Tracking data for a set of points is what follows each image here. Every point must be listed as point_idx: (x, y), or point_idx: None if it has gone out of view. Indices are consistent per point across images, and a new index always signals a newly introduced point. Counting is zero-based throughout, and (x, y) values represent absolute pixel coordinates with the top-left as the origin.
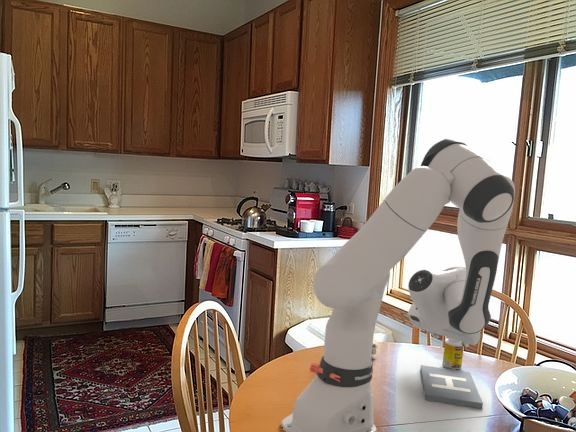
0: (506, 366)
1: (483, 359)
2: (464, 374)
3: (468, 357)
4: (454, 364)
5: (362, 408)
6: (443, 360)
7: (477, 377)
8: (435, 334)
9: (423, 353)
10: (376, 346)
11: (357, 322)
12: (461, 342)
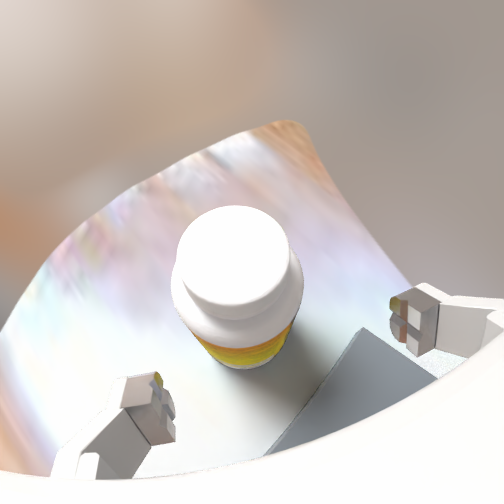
0: (304, 142)
1: (234, 160)
2: (379, 373)
3: (198, 191)
4: (282, 345)
5: None
6: (220, 361)
7: (367, 302)
8: (162, 437)
9: (86, 333)
10: None
11: None
12: (417, 349)
